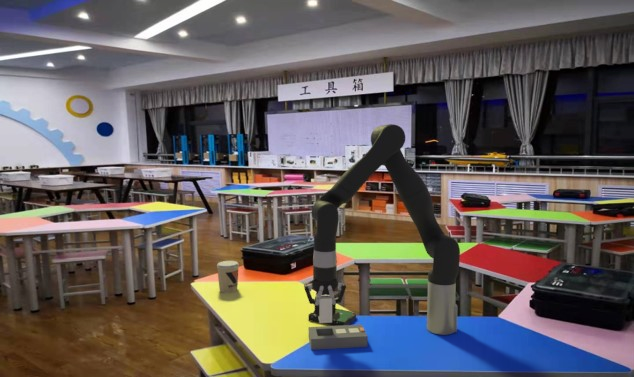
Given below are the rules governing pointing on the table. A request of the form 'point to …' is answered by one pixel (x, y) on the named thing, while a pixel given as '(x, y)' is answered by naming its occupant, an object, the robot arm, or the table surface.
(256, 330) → the table surface
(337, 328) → the power strip
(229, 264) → the coffee cup
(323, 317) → the cream rectangular block
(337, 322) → the disk drive
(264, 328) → the table surface
